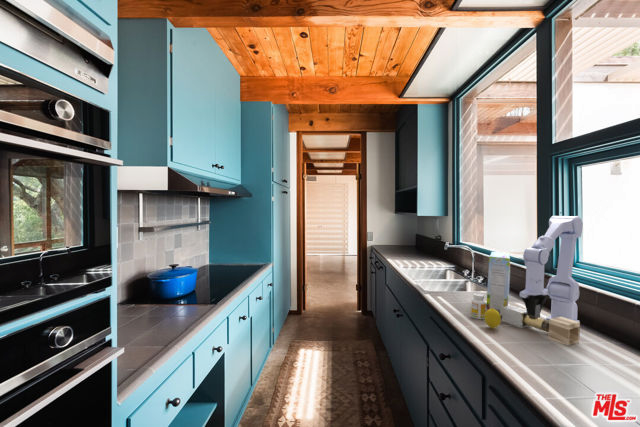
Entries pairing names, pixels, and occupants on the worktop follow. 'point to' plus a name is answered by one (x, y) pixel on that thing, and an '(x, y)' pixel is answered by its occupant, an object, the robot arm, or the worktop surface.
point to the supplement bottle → (478, 306)
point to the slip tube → (536, 320)
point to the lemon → (492, 318)
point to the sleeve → (514, 316)
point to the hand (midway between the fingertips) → (533, 314)
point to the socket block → (564, 330)
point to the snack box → (498, 281)
